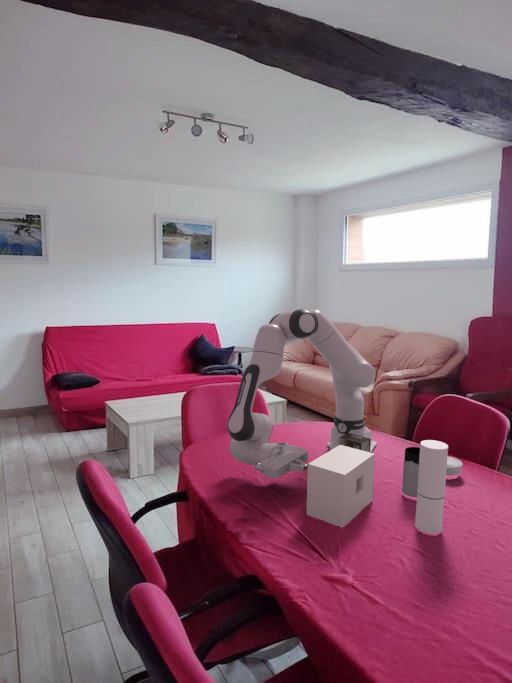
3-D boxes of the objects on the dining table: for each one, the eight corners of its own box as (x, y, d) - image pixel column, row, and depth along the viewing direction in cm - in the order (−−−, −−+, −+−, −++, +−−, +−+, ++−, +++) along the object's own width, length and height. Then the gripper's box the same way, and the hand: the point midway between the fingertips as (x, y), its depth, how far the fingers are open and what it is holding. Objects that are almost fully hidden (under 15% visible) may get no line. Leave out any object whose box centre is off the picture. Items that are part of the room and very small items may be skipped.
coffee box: (369, 483, 159) (371, 438, 156) (359, 489, 154) (362, 443, 152) (346, 475, 165) (348, 432, 163) (336, 481, 160) (338, 436, 158)
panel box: (338, 490, 153) (339, 444, 151) (372, 502, 146) (374, 453, 143) (306, 515, 137) (307, 463, 135) (342, 528, 130) (345, 474, 128)
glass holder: (395, 495, 151) (398, 451, 148) (414, 481, 161) (417, 440, 159) (421, 504, 145) (424, 458, 143) (439, 489, 155) (442, 446, 153)
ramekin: (427, 478, 164) (428, 464, 163) (428, 466, 174) (429, 453, 173) (462, 484, 159) (463, 469, 159) (461, 471, 170) (462, 457, 169)
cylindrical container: (441, 525, 132) (447, 441, 129) (442, 538, 126) (449, 450, 122) (415, 520, 135) (420, 438, 131) (414, 533, 128) (420, 447, 125)
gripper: (251, 457, 148) (287, 469, 139) (287, 440, 164) (321, 449, 155) (251, 476, 148) (287, 488, 140) (286, 457, 165) (320, 467, 156)
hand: (305, 468), depth 148 cm, fingers closed
